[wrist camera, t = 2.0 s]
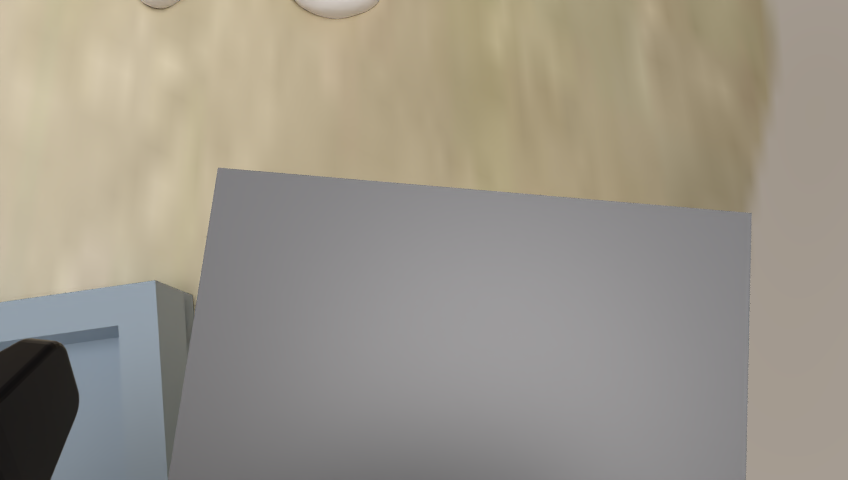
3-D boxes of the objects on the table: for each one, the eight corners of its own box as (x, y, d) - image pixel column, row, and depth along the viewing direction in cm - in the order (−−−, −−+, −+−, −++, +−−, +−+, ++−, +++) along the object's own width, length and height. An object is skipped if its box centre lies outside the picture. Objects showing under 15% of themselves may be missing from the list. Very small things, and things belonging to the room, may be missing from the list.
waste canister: (572, 568, 16) (744, 835, 6) (330, 538, 17) (119, 746, 7) (587, 323, 18) (758, 208, 7) (359, 302, 18) (213, 162, 8)
